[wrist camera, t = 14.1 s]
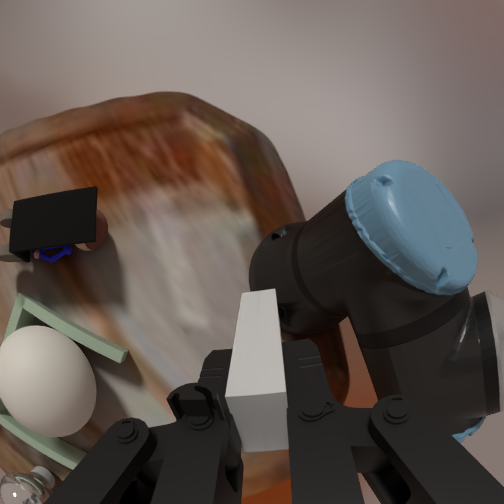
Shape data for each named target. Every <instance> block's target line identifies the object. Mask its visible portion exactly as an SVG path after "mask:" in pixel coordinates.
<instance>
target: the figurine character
mask: <svg viewBox="0 0 504 504" xmlns="http://www.w3.org/2000/svg"><path fill="white" fill-rule="evenodd" d="M97 190H98V189H97V187H96V186H95V187H88V188H81V189H75V190H69V191H63V192H57V193H52V194H46V195H41V196H36V197H31V198H27V199H22V200H17V201H14V205H13V209H8V210H4V211H3V212H2V213H1V221H0V224H1V225H2V226H4V227H6V228H11V229H10V241H9V245H1V246H0V260H1V261H4V262H18V261H21V260H23V261H25V262H30V256H34V257H35V258H36V259H38V258H41V259H44V260H46V261H49V262H51V263H54V262H55V261H56V260H58V259H59V258H61V257H62V256H64V255H65V254H67V255H70V254H71V253H72V247H71V245H74V244H75V245H76V246H77V247H78V248H80V249H82V250H85V251H91V250H95V249H97V248H98V247H100V246H101V245H102V244H103V242H104V241H105V239H106V237H107V233H108V224H107V220H106V218H105V216H104V215H103V213H102V212H101V211H99V210H98V209H97ZM60 247H64V249H62V250H61V251H59V252H58V253H57V254H55V255H54V256H52V257H51V256H49V255H46V254H44V253H41V251H44V250H50V249H55V248H60ZM30 250H32V251H30Z"/></svg>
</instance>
